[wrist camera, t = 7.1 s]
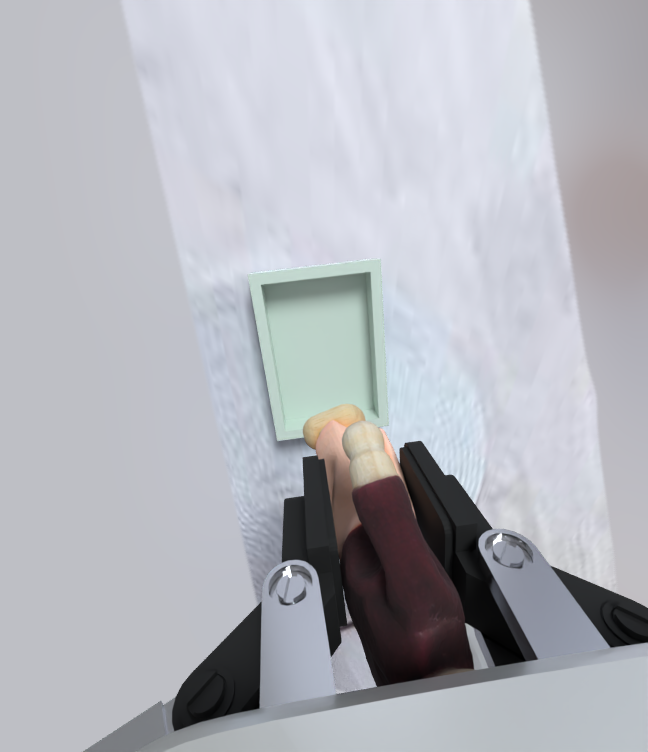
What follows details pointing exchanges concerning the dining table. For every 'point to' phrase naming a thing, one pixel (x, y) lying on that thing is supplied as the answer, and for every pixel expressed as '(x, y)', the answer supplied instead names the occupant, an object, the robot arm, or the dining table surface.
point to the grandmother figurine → (386, 556)
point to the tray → (322, 341)
